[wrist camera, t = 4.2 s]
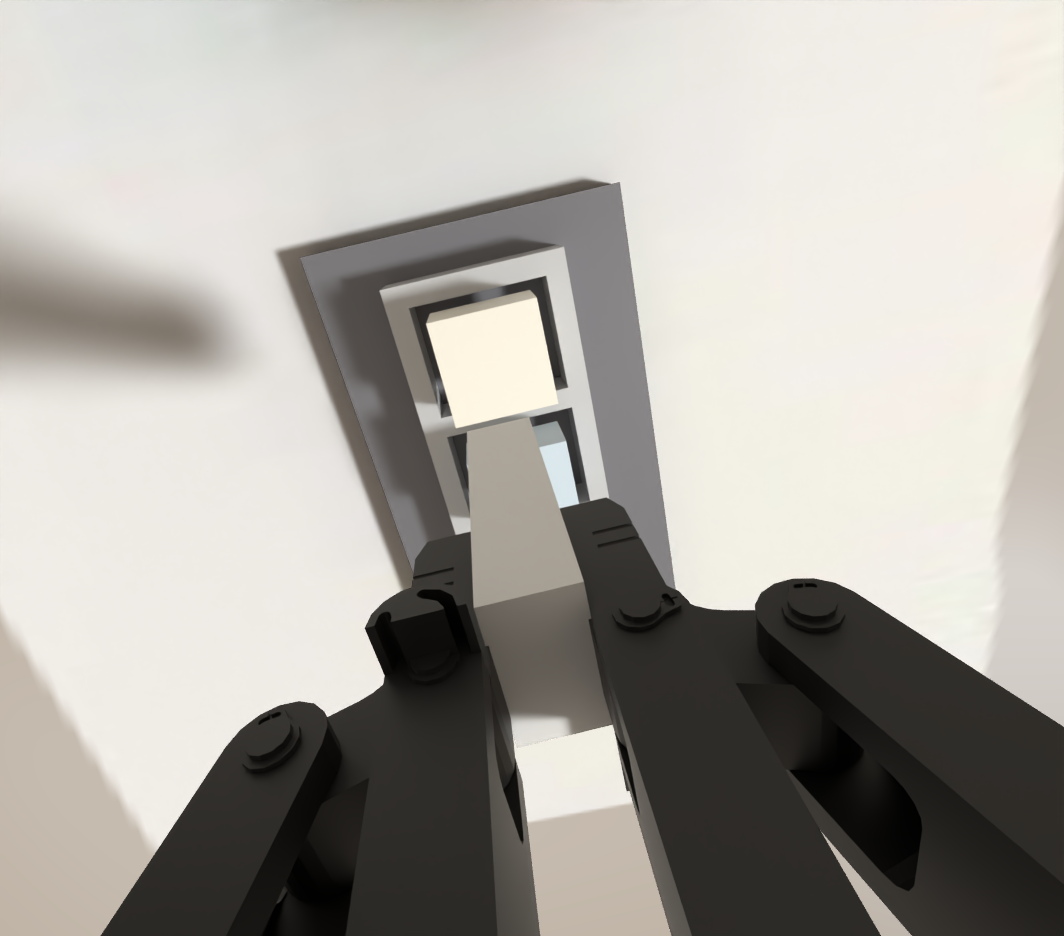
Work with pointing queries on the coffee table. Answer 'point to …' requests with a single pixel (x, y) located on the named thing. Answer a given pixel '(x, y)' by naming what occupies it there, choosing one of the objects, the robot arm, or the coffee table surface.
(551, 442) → the key blue
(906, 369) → the coffee table surface
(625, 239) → the keypad
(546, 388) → the key ivory
